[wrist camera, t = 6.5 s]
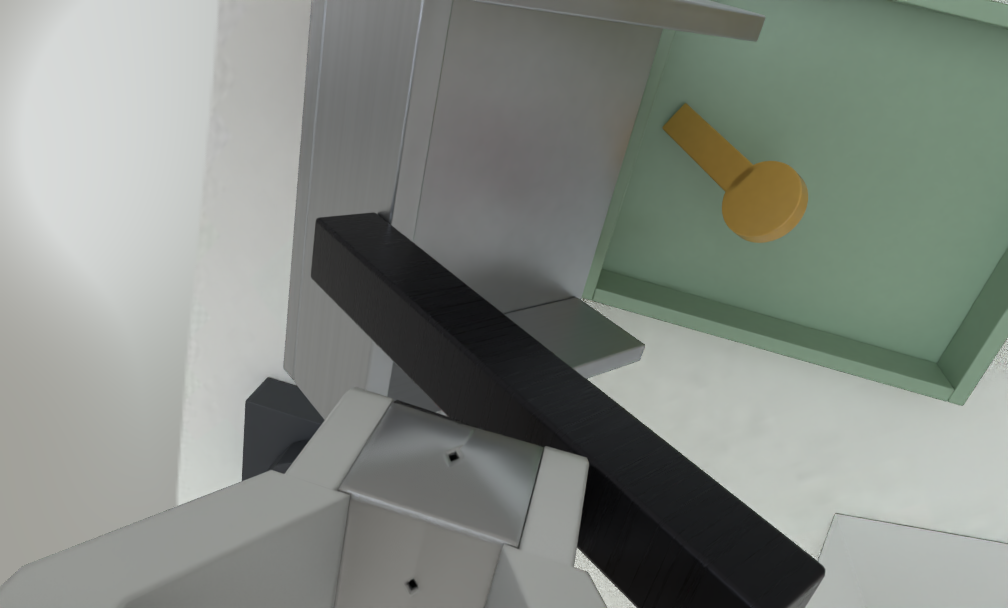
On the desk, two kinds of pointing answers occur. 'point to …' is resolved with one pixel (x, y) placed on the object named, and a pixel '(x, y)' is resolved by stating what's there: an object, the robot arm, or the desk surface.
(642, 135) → the tray
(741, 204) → the tan wooden spoon shape
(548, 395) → the grey dustpan
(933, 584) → the milk
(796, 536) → the desk surface
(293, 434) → the grey button base
